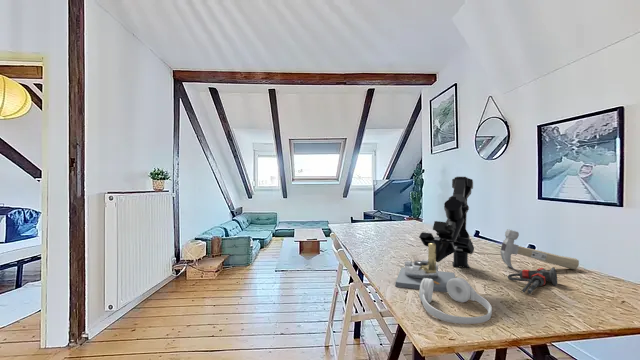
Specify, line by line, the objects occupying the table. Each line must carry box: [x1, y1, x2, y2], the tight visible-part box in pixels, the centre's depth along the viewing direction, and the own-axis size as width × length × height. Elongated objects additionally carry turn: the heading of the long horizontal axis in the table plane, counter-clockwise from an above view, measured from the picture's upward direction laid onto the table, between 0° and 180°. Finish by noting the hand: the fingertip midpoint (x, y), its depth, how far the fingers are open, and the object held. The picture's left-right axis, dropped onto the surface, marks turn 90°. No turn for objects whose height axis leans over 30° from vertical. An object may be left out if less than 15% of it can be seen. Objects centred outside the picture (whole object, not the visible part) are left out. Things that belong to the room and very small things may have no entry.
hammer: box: [500, 229, 580, 271], centre depth 138 cm, size 16×5×30 cm
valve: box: [507, 267, 558, 295], centre depth 117 cm, size 6×26×15 cm
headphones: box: [418, 276, 493, 325], centre depth 95 cm, size 7×18×20 cm
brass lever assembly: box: [404, 243, 439, 279], centre depth 121 cm, size 15×12×13 cm
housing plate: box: [395, 267, 456, 293], centre depth 120 cm, size 20×20×2 cm
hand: (436, 261), depth 114 cm, fingers closed
